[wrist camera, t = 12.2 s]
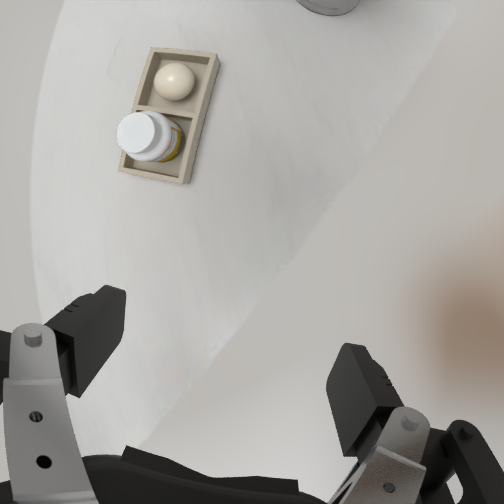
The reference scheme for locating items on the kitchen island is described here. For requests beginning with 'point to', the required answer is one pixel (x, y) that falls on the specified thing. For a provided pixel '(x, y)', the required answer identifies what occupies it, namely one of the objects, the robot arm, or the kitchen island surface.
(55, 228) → the kitchen island surface
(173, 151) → the supplement bottle
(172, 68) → the egg
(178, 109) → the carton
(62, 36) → the kitchen island surface
